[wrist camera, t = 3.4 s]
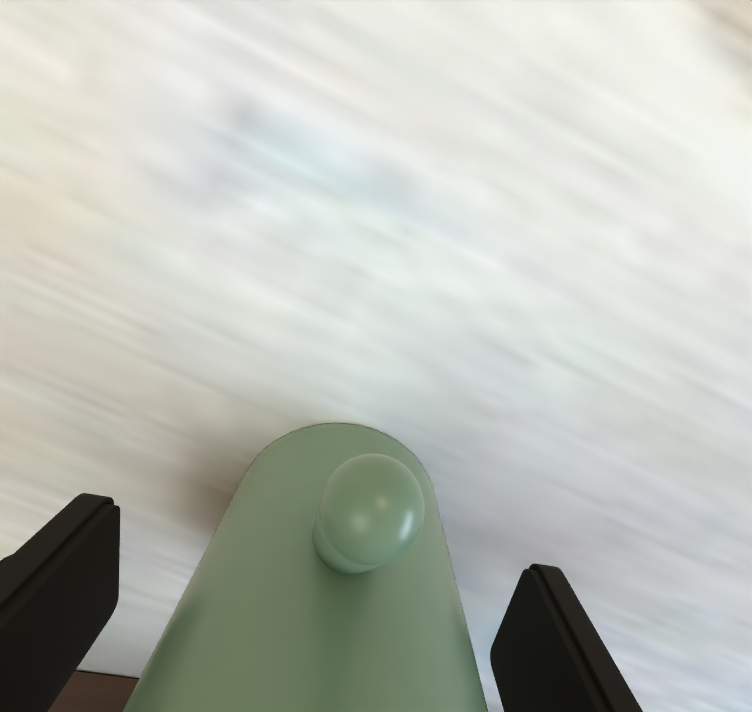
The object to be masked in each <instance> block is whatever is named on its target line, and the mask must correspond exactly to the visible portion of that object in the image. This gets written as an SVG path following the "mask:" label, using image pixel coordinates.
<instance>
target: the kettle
mask: <svg viewBox="0 0 752 712" xmlns="http://www.w3.org/2000/svg"><path fill="white" fill-rule="evenodd" d="M123 712H488V710H487V706H486V702H485V697H484V693H483V689H482V685H481V681H480V677H479V673H478V669H477V665H476V661H475V657H474V652H473V648H472V644H471V640H470V636H469V632H468V628H467V624H466V620H465V616H464V612H463V607H462V603H461V599H460V595H459V591H458V587H457V583H456V579H455V575H454V571H453V567H452V562H451V558H450V554H449V550H448V546H447V542H446V538H445V534H444V530H443V526H442V522H441V518H440V513H439V509H438V505H437V501H436V497H435V493H434V489H433V485H432V483H431V480H430V478H429V475H428V474H427V472H426V470H425V469H424V467H423V465H422V464H421V463H420V462H419V460H418V459H417V458H416V457H415V456H414V455H413V454H412V453H411V452H410V451H409V450H408V449H407V448H406V447H405V446H403V445H402V444H400V443H399V442H397V441H396V440H395V439H393V438H391V437H389V436H387V435H385V434H383V433H381V432H378V431H375V430H373V429H370V428H366V427H362V426H358V425H351V424H341V423H329V424H320V425H313V426H309V427H305V428H301V429H299V430H296V431H293V432H290V433H288V434H286V435H284V436H283V437H281V438H279V439H277V440H276V441H274V442H273V443H271V444H270V445H269V446H267V447H266V448H265V449H264V450H263V451H262V452H261V453H260V454H259V455H258V456H257V457H256V458H255V460H254V461H253V462H252V463H251V465H250V467H249V468H248V470H247V472H246V474H245V475H244V477H243V479H242V481H241V483H240V485H239V487H238V489H237V491H236V493H235V495H234V497H233V499H232V501H231V503H230V504H229V506H228V508H227V510H226V512H225V514H224V516H223V518H222V520H221V522H220V524H219V526H218V528H217V530H216V532H215V534H214V535H213V537H212V539H211V541H210V543H209V545H208V547H207V549H206V551H205V553H204V555H203V557H202V559H201V561H200V563H199V565H198V566H197V568H196V570H195V572H194V574H193V576H192V578H191V580H190V582H189V584H188V586H187V588H186V590H185V592H184V594H183V595H182V597H181V599H180V601H179V603H178V605H177V607H176V609H175V611H174V613H173V615H172V617H171V619H170V621H169V623H168V625H167V626H166V628H165V630H164V632H163V634H162V636H161V638H160V640H159V642H158V644H157V646H156V648H155V650H154V652H153V654H152V656H151V657H150V659H149V661H148V663H147V665H146V667H145V669H144V671H143V673H142V675H141V677H140V679H139V681H138V683H137V685H136V686H135V688H134V690H133V692H132V694H131V696H130V698H129V700H128V702H127V704H126V706H125V708H124V710H123Z"/></svg>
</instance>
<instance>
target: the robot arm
mask: <svg viewBox="0 0 752 712" xmlns="http://www.w3.org/2000/svg"><path fill="white" fill-rule="evenodd" d="M119 547H120V507H119V506H116V505H114V500H113V499H112V498H111V497H106V496H99V495H93V494H86V493H83V494H80V495H78V496H77V497H76V498H75V499H73V500H72V501H71V502H70V503H69V504H68V505H67V506H66V507H65V508H64V509H62V510H61V511H60V512H59V513H58V514H57V515H56V516H55V517H54V518H53V519H51V520H50V521H49V522H48V523H47V524H46V525H45V526H44V527H43V528H42V529H40V530H39V531H38V532H37V533H36V534H35V535H34V536H33V537H32V538H31V539H29V540H28V541H27V542H26V543H25V544H24V545H23V546H22V547H21V548H20V549H18V550H17V551H16V552H15V553H14V554H12V555H10V556H8V557H5V558H4V559H2V560H1V561H0V712H48V710H49V709H50V707H51V706H52V704H53V703H54V701H55V700H56V698H57V697H58V695H59V694H60V692H61V691H62V689H63V688H64V686H65V685H66V683H67V682H68V680H69V679H70V677H71V676H72V674H73V673H74V671H75V670H76V668H77V667H78V665H79V664H80V662H81V661H82V659H83V658H84V656H85V655H86V653H87V652H88V650H89V649H90V647H91V646H92V644H93V643H94V641H95V640H96V638H97V637H98V635H99V634H100V632H101V631H102V629H103V628H104V626H105V625H106V623H107V622H108V620H109V619H110V617H111V616H112V614H113V612H114V610H115V607H116V605H117V602H118V596H119ZM490 660H491V666H492V670H493V674H494V677H495V681H496V684H497V688H498V691H499V695H500V698H501V702H502V705H503V709H504V712H643V711H642V709H641V708H640V706H639V704H638V702H637V701H636V699H635V697H634V696H633V694H632V692H631V690H630V689H629V687H628V685H627V683H626V682H625V680H624V678H623V676H622V675H621V673H620V671H619V669H618V668H617V666H616V664H615V662H614V661H613V659H612V657H611V656H610V654H609V652H608V650H607V649H606V647H605V645H604V643H603V642H602V640H601V638H600V636H599V635H598V633H597V631H596V629H595V628H594V626H593V624H592V623H591V621H590V619H589V617H588V616H587V614H586V612H585V610H584V609H583V607H582V605H581V603H580V602H579V600H578V598H577V596H576V595H575V593H574V591H573V589H572V588H571V586H570V584H569V583H568V581H567V579H566V577H565V576H564V574H563V572H562V571H561V570H560V569H559V568H558V567H554V566H547V565H541V564H532V565H530V567H529V569H525V570H523V572H522V574H521V577H520V579H519V581H518V584H517V586H516V589H515V591H514V594H513V596H512V598H511V601H510V603H509V606H508V608H507V611H506V613H505V615H504V618H503V620H502V623H501V625H500V628H499V630H498V632H497V635H496V637H495V640H494V642H493V645H492V647H491V652H490Z"/></svg>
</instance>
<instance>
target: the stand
mask: <svg viewBox="0 0 752 712" xmlns="http://www.w3.org/2000/svg"><path fill="white" fill-rule="evenodd" d="M138 681H139V679H132V678H124V677H116V676H108V675H101V674H93V673H85V672H77V671H74V673H73V674H72V676H71V677H70V679H69V680H68V682H67V683H66V685H65V686H64V688H63V689H62V691H61V692H60V694H59V695H58V697H57V698H56V700H55V701H54V703H53V704H52V706H51V707H50V709H49V710H48V712H123V710H124V708H125V706H126V704H127V702H128V700H129V698H130V696H131V694H132V692H133V690H134V688H135V686H136V685H137V683H138Z"/></svg>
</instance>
